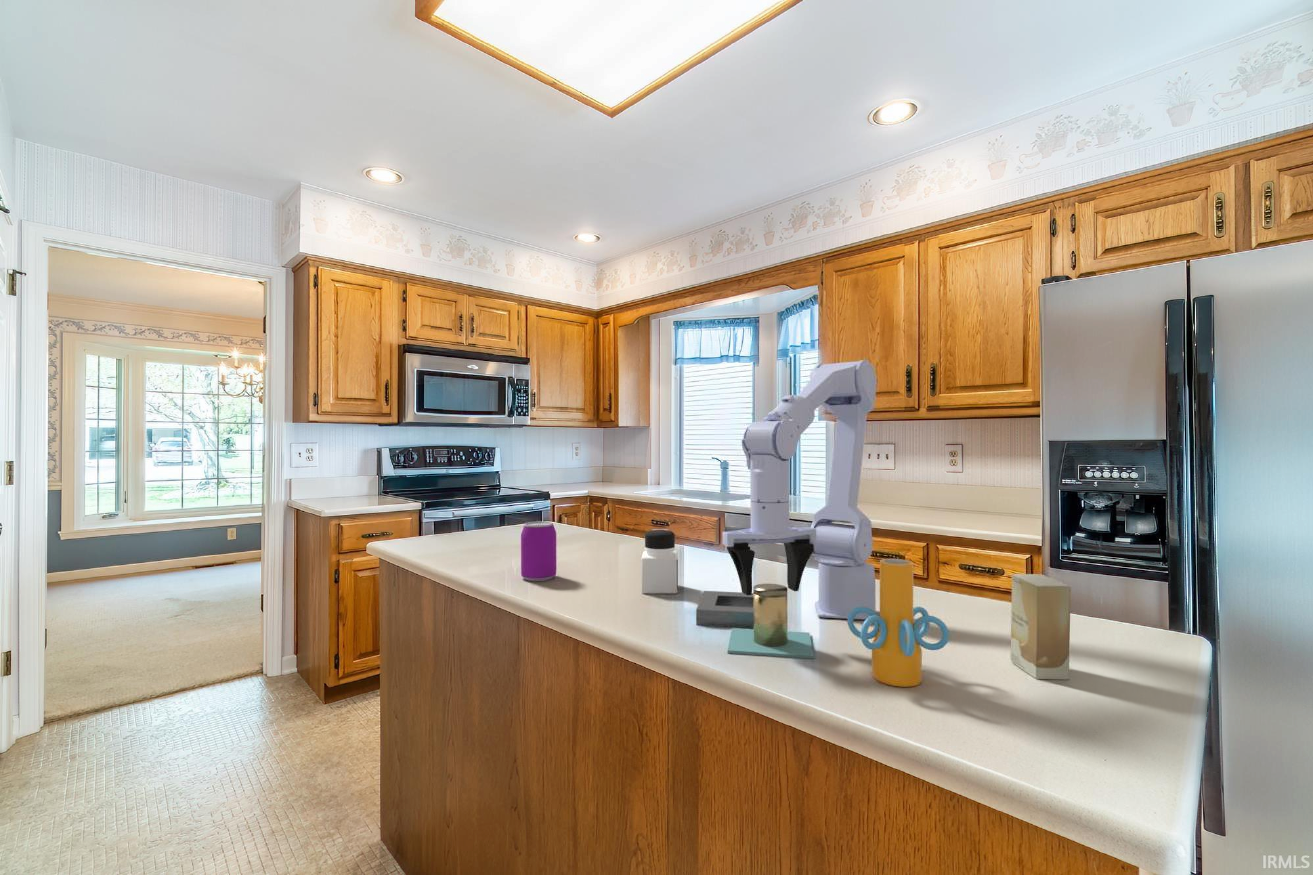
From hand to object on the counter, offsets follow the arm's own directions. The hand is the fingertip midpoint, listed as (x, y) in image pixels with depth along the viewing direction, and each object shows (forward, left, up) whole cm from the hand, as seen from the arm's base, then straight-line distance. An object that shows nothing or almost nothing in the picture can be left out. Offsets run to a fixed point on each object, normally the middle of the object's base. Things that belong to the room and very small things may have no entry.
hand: (770, 591), depth 90 cm
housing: (+6, -13, -8) cm, 16 cm away
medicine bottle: (+22, -28, -8) cm, 36 cm away
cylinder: (-16, +10, -8) cm, 20 cm away
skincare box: (-35, +4, -8) cm, 36 cm away
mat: (0, 0, -8) cm, 8 cm away
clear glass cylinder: (0, 0, -7) cm, 7 cm away
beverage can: (+50, -33, -8) cm, 60 cm away
